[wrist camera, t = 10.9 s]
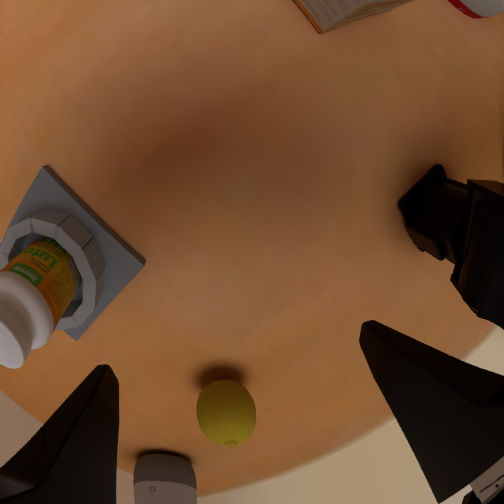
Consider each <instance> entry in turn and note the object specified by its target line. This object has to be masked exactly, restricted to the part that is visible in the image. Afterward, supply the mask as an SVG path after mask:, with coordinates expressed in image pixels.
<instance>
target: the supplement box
mask: <svg viewBox="0 0 504 504" xmlns="http://www.w3.org/2000/svg"><path fill="white" fill-rule="evenodd" d="M294 1H295V2H296V4H297V5H298V6H299V7H300V9H301V10H302V11H303V12H304V14H305V15H306V16H307V17H308V19H309V20H310V21H311V23H312V24H313V25H314V27H315V28H316V29H317V31H318V32H319V33H320V34H321V33H324V32H327V31H329V30H332V29H335V28H337V27H339V26H342V25H344V24H347V23H349V22H352V21H355V20H357V19H360V18H363V17H366V16H371V15H375V14H379V13H383V12H387V11H389V10H392V9H394V8H396V7H399V6H401V5H403V4H406V3H408V2H411V1H413V0H294Z"/></svg>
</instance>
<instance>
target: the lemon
mask: <svg viewBox="0 0 504 504" xmlns="http://www.w3.org/2000/svg"><path fill="white" fill-rule="evenodd" d="M197 418H198V422H199V425H200V428H201V430H202V431H203V433H204V434H205V436H206V437H207V438H208V439H210V440H211V441H212V442H214V443H216V444H219V445H223V446H228V447H234V446H235V445H238V444H240V443H242V442H244V441H245V440H246V439H247V438H248V437H249V436H250V435H251V434H252V432H253V430H254V428H255V424H256V409H255V404H254V401H253V399H252V397H251V395H250V393H249V392H248V390H247V389H246V388H245V387H243V386H242V385H241V384H239V383H237V382H235V381H232V380H217V381H214V382H212V383H210V384H209V385H207V386H206V387H205V388H204V389H203V390H202V392H201V393H200V395H199V398H198V401H197Z"/></svg>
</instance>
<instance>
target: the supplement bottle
mask: <svg viewBox="0 0 504 504" xmlns="http://www.w3.org/2000/svg"><path fill="white" fill-rule="evenodd" d="M82 280H83V279H82V277H81V274H80V272H79V270H78V268H77V265H76V263H75V261H74V258H73V256H72V255H71V254H69V253H68V252H67V251H66V250H65V249H64V248H63V247H62V246H61V245H60V244H59V243H58V242H57V241H56V240H55V239H54V238H51V237H48V236H42V237H40V238H38V239H37V240H35V241H34V242H33V243H31V244H30V245H29V246H28V247H27V248H25V249H24V250H23V251H22V252H21V253H20V254H18V255H17V256H16V257H15V258H14V259H13V260H12V261H10V262H9V263H8V264H7V265H6V266H5V267H4V268H3V269H2V270H1V271H0V364H1V365H3V366H6V367H8V368H12V369H16V368H19V367H21V366H22V365H23V363H24V362H25V360H26V358H27V356H28V355H29V353H30V351H31V349H37V348H40V347H42V346H43V345H45V344H46V342H47V341H48V340H49V338H50V337H51V335H52V333H53V331H54V330H55V328H56V326H57V324H58V323H59V321H60V319H61V318H62V316H63V314H64V312H65V311H66V309H67V307H68V306H69V304H70V302H71V301H72V299H73V298H74V296H75V295H76V293H77V291H78V290H79V288H80V286H81V284H82Z"/></svg>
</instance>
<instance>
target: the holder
mask: <svg viewBox="0 0 504 504" xmlns="http://www.w3.org/2000/svg"><path fill="white" fill-rule="evenodd" d="M42 236H48V237H51V238H54V239H55V240H56V241H57V242H58V243H59V244H60V245H61V246H62V247H63V248H64V249H65V250H66V251H67V252H68V253H69V254H71V255H72V256H73V258H74V261H75V263H76V265H77V268H78V270H79V272H80V274H81V277H82V279H83V280H82V284H81V286H80V288H79V290H78V291H77V293H76V295H75V296H74V298H73V299H72V301H71V302H70V304H69V306H68V307H67V309H66V311H65V312H64V314H63V316H62V318H61V319H60V321H59V323H58V324H57V326H56V328H55V329H56V330H58V329H59V330H63V331H65V332H66V333H67V334H68V335H70V336H71V337H72V338H74V339H75V340H76V341H77V340H78V339H79V338H80V337H81V335H82V334H83V333H84V332H85V331H86V330H87V328H88V327H89V326H90V325H91V324H92V323H93V321H94V320H95V319H96V318H97V317H98V316H99V314H100V313H101V312H102V311H103V310H104V309H105V308H106V307H107V305H108V304H109V303H110V302H111V301H112V300H113V299H114V298H115V297H116V295H117V294H118V293H119V292H120V291H121V290H122V289H123V288H124V287H125V286H126V285H127V283H128V282H129V281H130V280H131V279H132V278H133V277H134V276H135V275H136V274H137V273H138V272H139V271H140V270H141V269H142V267H143V266H144V265H145V262H146V261H145V260H144V259H143V258H142V257H141V256H140V255H139V254H137V253H136V252H135V251H134V250H133V249H132V248H131V247H130V246H129V245H127V244H126V243H125V242H124V241H123V240H122V239H121V238H120V237H119V236H118V235H117V234H116V233H114V232H113V231H112V230H111V229H110V228H109V227H108V226H107V225H106V224H105V223H104V222H103V221H102V220H101V219H100V218H99V217H98V216H97V215H96V214H95V213H94V212H92V211H91V210H90V209H89V208H88V207H87V206H86V205H85V204H84V203H83V202H82V201H81V200H80V199H79V198H78V197H77V196H76V195H75V194H74V193H73V191H72V190H71V189H70V188H69V187H68V186H67V185H66V184H65V183H64V182H63V181H62V180H61V179H60V178H59V177H58V176H57V175H56V174H55V173H54V172H53V170H52V169H51V168H50V167H49V166H48V165H47V166H43V167H42V168H41V170H40V172H39V173H38V175H37V176H36V178H35V180H34V181H33V183H32V185H31V186H30V188H29V190H28V191H27V193H26V195H25V197H24V198H23V200H22V202H21V204H20V206H19V208H18V209H17V211H16V213H15V215H14V217H13V219H12V221H11V223H10V225H9V227H8V230H7V232H6V234H5V236H4V238H3V240H2V243H1V245H0V271H1V270H2V269H3V268H4V267H5V266H6V265H7V264H8V263H9V262H10V261H12V260H13V259H14V258H15V257H16V256H17V255H18V254H20V253H21V252H22V251H23V250H24V249H25V248H27V247H28V246H29V245H30V244H31V243H33V242H34V241H35V240H37V239H38V238H40V237H42Z"/></svg>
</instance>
